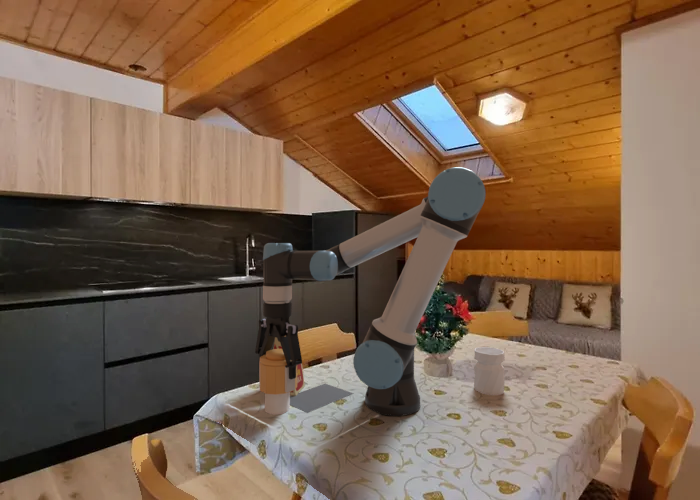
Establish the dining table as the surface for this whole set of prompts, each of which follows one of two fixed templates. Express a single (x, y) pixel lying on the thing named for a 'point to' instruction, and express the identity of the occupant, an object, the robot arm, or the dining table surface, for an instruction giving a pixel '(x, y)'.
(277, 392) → the wooden octagonal canister
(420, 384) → the dining table surface
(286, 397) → the can
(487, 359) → the pill bottle
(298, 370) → the milk carton
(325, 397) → the mat
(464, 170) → the robot arm
